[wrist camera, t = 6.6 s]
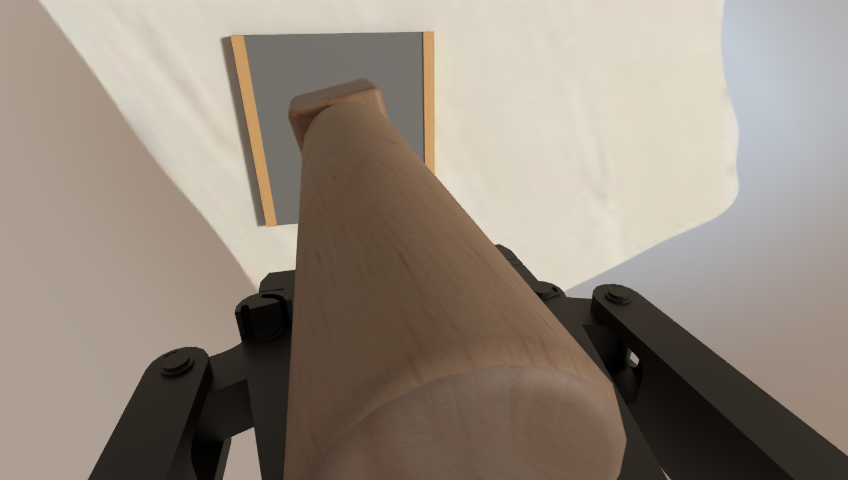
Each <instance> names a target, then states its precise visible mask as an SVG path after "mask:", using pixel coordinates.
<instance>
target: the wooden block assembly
mask: <svg viewBox="0 0 848 480" xmlns="http://www.w3.org/2000/svg"><path fill="white" fill-rule="evenodd" d="M288 119H289V122H290V125H291V127H292V130H293V133H294V135H295V138H296V141H297V144H298V146H299V149H300V152H301V154H302V168H301V185H300V202H299V219H298V237H297V254H296V271H295V289H294V306H293V323H292V341H291V358H290V375H289V393H288V410H287V427H286V444H285V462H284V479H283V480H616V479H617V478H618V476H619V474H620V470H621V465H622V461H623V456H624V451H625V446H626V441H627V439H626V435H625V431H624V427H623V423H622V419H621V415H620V410H619V406H618V403H617V399H616V395H615V391H614V388H613V384H612V383H611V382H610V380H609V379H608V378H607V377H606V376H605V375H604V373H603V372H602V371H601V370H600V369H599V368H598V366H597V365H596V364H595V363H594V362H593V361H592V359H591V358H590V357H589V356H588V355H587V353H586V352H585V351H584V350H583V349H582V348H581V346H580V345H579V344H578V343H577V342H576V341H575V339H574V338H573V337H572V336H571V335H570V334H569V332H568V331H567V330H566V329H565V328H564V326H563V325H562V324H561V323H560V322H559V321H558V319H557V318H556V317H555V316H554V315H553V314H552V312H551V311H550V310H549V309H548V308H547V307H546V305H545V304H544V303H543V302H542V301H541V299H540V298H539V297H538V296H537V295H536V294H535V292H534V291H533V290H532V289H531V288H530V287H529V285H528V284H527V283H526V282H525V281H524V280H523V278H522V277H521V276H520V275H519V274H518V272H517V271H516V270H515V269H514V268H513V267H512V265H511V264H510V263H509V262H508V261H507V260H506V258H505V257H504V256H503V255H502V254H501V252H500V251H499V250H498V249H497V248H496V247H495V245H494V244H493V243H492V242H491V241H490V240H489V238H488V237H487V236H486V235H485V234H484V233H483V231H482V230H481V229H480V228H479V227H478V225H477V224H476V223H475V222H474V221H473V220H472V218H471V217H470V216H469V215H468V214H467V213H466V211H465V210H464V209H463V208H462V207H461V206H460V204H459V203H458V202H457V201H456V200H455V198H454V197H453V196H452V195H451V194H450V193H449V191H448V190H447V189H446V188H445V187H444V186H443V184H442V183H441V182H440V181H439V180H438V179H437V177H436V176H435V175H434V174H433V173H432V171H431V170H430V169H429V168H428V167H427V166H426V164H425V163H424V162H423V161H422V160H421V159H420V157H419V156H418V155H417V154H416V153H415V152H414V150H413V149H412V148H411V147H410V146H409V144H408V143H407V142H406V141H405V140H404V139H403V137H402V136H401V135H400V134H399V133H398V132H397V130H396V129H395V128H394V127H393V126H392V125H391V123H390V122H389V118H388V115H387V111H386V107H385V103H384V99H383V95H382V92H381V91H380V89H379V88H378V87H377V86H376V85H375V84H374V83H373V82H372V81H370V80H369V79H366V78H361V79H357V80H354V81H350V82H346V83H343V84H339V85H335V86H332V87H328V88H324V89H321V90H317V91H313V92H310V93H306V94H302V95H298V96H295V97H294V98H293V99H292V100H291V103H290V107H289V111H288Z"/></svg>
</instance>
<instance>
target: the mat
mask: <svg viewBox="0 0 848 480" xmlns="http://www.w3.org/2000/svg"><path fill="white" fill-rule="evenodd" d="M231 41H232V46H233V52H234V57H235V62H236V68H237V73H238V78H239V83H240V89H241V94H242V99H243V105H244V110H245V115H246V121H247V126H248V131H249V136H250V142H251V147H252V152H253V158H254V163H255V168H256V173H257V179H258V184H259V189H260V195H261V200H262V205H263V211H264V216H265V221H266V226H267V227H271V226H277V225H286V224H296V223H298V219H299V202H300V185H301V168H302V154H301V152H300V149H299V146H298V144H297V141H296V138H295V135H294V133H293V130H292V127H291V125H290V122H289V119H288V111H289V107H290V103H291V100H292V99H293V98H294V97H295V96H298V95H302V94H306V93H310V92H313V91H317V90H321V89H324V88H328V87H332V86H335V85H339V84H343V83H346V82H350V81H354V80H357V79H361V78H366V79H369V80H370V81H372V82H373V83H374V84H375V85H376V86H377V87H378V88H379V89H380V91H381V92H382V95H383V99H384V103H385V107H386V111H387V115H388V118H389V122H390V123H391V125H392V126H393V127H394V128H395V129H396V130H397V132H398V133H399V134H400V135H401V136H402V137H403V139H404V140H405V141H406V142H407V143H408V144H409V146H410V147H411V148H412V149H413V150H414V152H415V153H416V154H417V155H418V156H419V157H420V159H421V160H422V161H423V162H424V163H425V164H426V166H427V167H428V168H429V169H430V170H431V171H432V173H433V174H434V175H435V172H434V32H397V33H342V34H287V35H232V36H231Z"/></svg>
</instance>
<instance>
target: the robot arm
mask: <svg viewBox="0 0 848 480" xmlns="http://www.w3.org/2000/svg"><path fill="white" fill-rule="evenodd" d="M495 247H496V248H497V249H498V250H499V251H500V252H501V254H502V255H503V256H504V257H505V258H506V260H507V261H508V262H509V263H510V264H511V265H512V267H513V268H514V269H515V270H516V271H517V272H518V274H519V275H520V276H521V277H522V278H523V280H524V281H525V282H526V283H527V284H528V285H529V287H530V288H531V289H532V290H533V291H534V292H535V294H536V295H537V296H538V297H539V298H540V299H541V301H542V302H543V303H544V304H545V305H546V307H547V308H548V309H549V310H550V311H551V312H552V314H553V315H554V316H555V317H556V318H557V319H558V321H559V322H560V323H561V324H562V325H563V326H564V328H565V329H566V330H567V331H568V332H569V334H570V335H571V336H572V337H573V338H574V339H575V341H576V342H577V343H578V344H579V345H580V346H581V348H582V349H583V350H584V351H585V352H586V353H587V355H588V356H589V357H590V358H591V359H592V361H593V362H594V363H595V364H596V365H597V366H598V368H599V369H600V370H601V371H602V372H603V373H604V375H605V376H606V377H607V378H608V379H609V380H610V382H611V383H612V384H613V388H614V391H615V395H616V399H617V403H618V406H619V410H620V415H621V419H622V423H623V427H624V431H625V435H626V439H627V441H626V446H625V451H624V456H623V461H622V465H621V470H620V474H619V476H618V478H617V479H616V480H667V478H666V476H665V474H664V473H663V471H662V469H663V470H664V472H665V473H666V474H667V475H668V476H669V478H670V479H671V480H848V456H847V455H845V454H844V453H843V452H842V451H841V450H839V449H838V448H837V447H835V446H834V445H833V444H832V443H830V442H829V441H828V440H826V439H825V438H824V437H822V436H821V435H820V434H819V433H817V432H816V431H815V430H814V429H812V428H811V427H810V426H808V425H807V424H806V423H804V422H803V421H802V420H801V419H799V418H798V417H797V416H796V415H794V414H793V413H792V412H790V411H789V410H788V409H786V408H785V407H784V406H783V405H781V404H780V403H779V402H778V401H776V400H775V399H773V398H772V397H771V396H770V395H768V394H767V393H766V392H765V391H763V390H762V389H761V388H759V387H758V386H757V385H756V384H754V383H753V382H752V381H751V380H749V379H748V378H747V377H745V376H744V375H743V374H741V373H740V372H739V371H738V370H736V369H735V368H734V367H733V366H731V365H730V364H729V363H727V362H726V361H725V360H724V359H722V358H721V357H720V356H718V355H717V354H716V353H714V352H713V351H712V350H711V349H709V348H708V347H707V346H706V345H704V344H703V343H702V342H700V341H699V340H698V339H697V338H695V337H694V336H693V335H691V334H690V333H689V332H688V331H686V330H685V329H684V328H682V327H681V326H680V325H679V324H677V323H676V322H674V321H673V320H672V319H671V318H670V317H668V316H667V315H666V314H664V313H663V312H662V311H661V310H659V309H658V308H657V307H655V306H654V305H653V304H651V303H650V302H649V301H648V300H646V299H645V298H644V297H642V296H641V295H640V294H639V293H637V292H636V291H634V290H632V289H630V288H627V287H624V286H622V285H616V284H604V285H600V286H597V287H596V288H595V289H594V290H593V295H592V299H585V298H570V297H566V295H565V293H564V292H563V291H562V290H561V289H560V288H559V287H557V286H556V285H554V284H551V283H548V282H544V281H538V280H537V279H536V278H535V277H534V276H533V275H532V273H531V272H530V271H529V270H528V269H527V268H526V267H525V266H524V265H523V263H522V262H521V261H520V260H519V259H517V257H516V255H515V254H514V253H513V252H512V251H511V250H510V249H508V248H506V247H504V246H502V245H500V244H497V245H495ZM295 271H296V270H290V271H282V272H273V273H269V274H268V275H267V276H266V277H265V278H264V279H263V280H262V281H261V283H260V288H259V293H257V294H254V295H251V296H249V297H247V298H246V299H244V300H242V301H241V302H240V303H239V304H238V305H237V306H236V309H235V315H236V320H237V324H238V327H239V332H240V336H241V340H242V342H241V343H240V344H239V345H237V346H235V347H234V348H232V349H229V350H227V351H225V352H222V353H220V354H216V355H214V356H211V357H209V356H208V354H207V353H206V352H205V351H204V349H200V348H197V347H184V348H180V349H175V350H172V351H170V352H168V353H166V354H163V355H162V356H160V357H159V358H157V359H156V360H155V361H153V362H152V363H151V364H150V365H149V367H148V368H147V369H146V370H145V372H144V374H143V376H142V378H141V380H140V382H139V384H138V386H137V387H136V389H135V391H134V393H133V395H132V397H131V399H130V401H129V403H128V405H127V406H126V408H125V410H124V412H123V414H122V416H121V418H120V420H119V422H118V424H117V426H116V427H115V429H114V431H113V433H112V435H111V437H110V439H109V441H108V442H107V445H106V446H105V448H104V450H103V452H102V454H101V456H100V458H99V460H98V462H97V463H96V465H95V467H94V469H93V471H92V473H91V475H90V477H89V479H88V480H223V475H224V471H225V466H226V462H227V457H228V453H229V449H230V445H231V437H232V436H234V435H236V434H239V433H241V432H243V431H246V430H248V429H250V428H252V427H254V429H255V436H256V443H257V450H258V457H259V463H260V471H261V477H262V480H283V479H284V462H285V444H286V427H287V410H288V393H289V375H290V358H291V341H292V323H293V306H294V289H295ZM631 352H633V353H634V354H635V355H636V356H637V357H638V359H639V363H638V365H637V364H635V363H634V362H633V361H632V360H631V359H630V356H631ZM661 468H662V469H661Z"/></svg>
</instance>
